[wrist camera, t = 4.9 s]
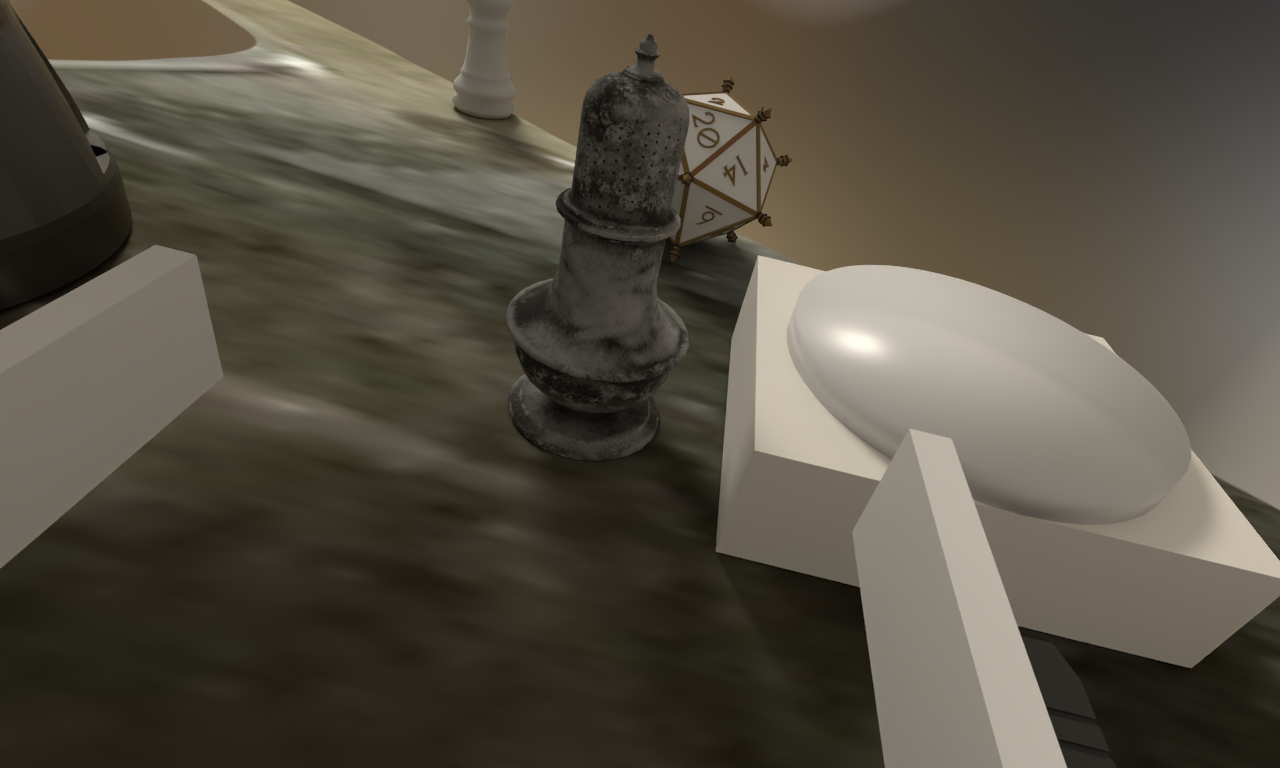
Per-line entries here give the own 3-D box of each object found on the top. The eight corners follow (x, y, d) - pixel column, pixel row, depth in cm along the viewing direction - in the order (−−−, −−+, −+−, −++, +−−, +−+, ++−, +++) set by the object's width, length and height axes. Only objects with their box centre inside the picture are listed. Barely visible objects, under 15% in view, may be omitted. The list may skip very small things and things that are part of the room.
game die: (702, 311, 38) (842, 226, 31) (570, 256, 34) (695, 141, 27) (705, 186, 42) (830, 81, 34) (586, 122, 38) (700, -13, 30)
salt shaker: (700, 438, 24) (815, 73, 17) (551, 490, 20) (617, 64, 13) (608, 346, 27) (672, 13, 20) (470, 378, 24) (488, -6, 17)
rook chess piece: (437, 103, 48) (439, -28, 43) (487, 97, 51) (493, -25, 46) (480, 124, 46) (486, -10, 41) (528, 117, 49) (539, -8, 44)
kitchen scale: (715, 551, 20) (766, 420, 17) (731, 338, 29) (765, 232, 26) (1206, 672, 19) (1345, 560, 16) (1058, 417, 29) (1129, 319, 26)
